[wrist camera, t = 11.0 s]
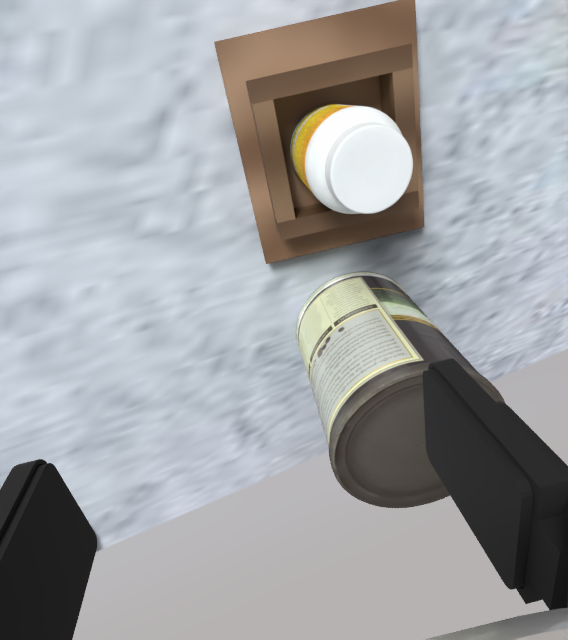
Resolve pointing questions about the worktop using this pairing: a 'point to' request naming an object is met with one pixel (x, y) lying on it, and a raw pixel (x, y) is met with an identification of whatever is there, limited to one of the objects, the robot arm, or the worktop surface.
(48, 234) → the worktop surface
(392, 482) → the coffee can
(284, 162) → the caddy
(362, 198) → the supplement bottle
